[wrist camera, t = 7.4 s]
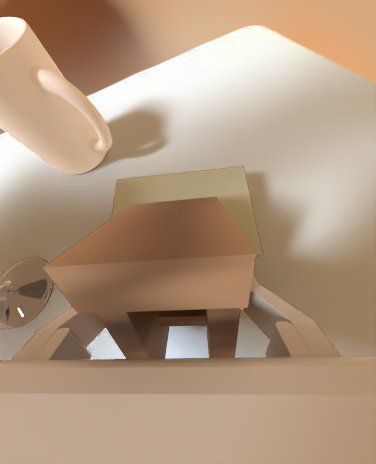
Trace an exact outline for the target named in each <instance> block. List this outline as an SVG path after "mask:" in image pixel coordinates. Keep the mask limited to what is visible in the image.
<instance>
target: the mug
mask: <svg viewBox="0 0 376 464" xmlns="http://www.w3.org/2000/svg"><path fill="white" fill-rule="evenodd" d="M0 128H1V129H3V130H4V131H5V132H7V133H8V134H9V135H11V136H12V137H13V138H15V139H16V140H17V141H19V142H20V143H22V144H23V145H24V146H26V147H27V148H28V149H30V150H31V151H32V152H34V153H35V154H36V155H38V156H39V157H40V158H42V159H43V160H44V161H46V162H47V163H49V164H50V165H51V166H53V167H54V168H56V169H57V170H59V171H61V172H63V173H66V174H82V173H86V172H88V171H90V170H92V169H94V168H95V167H96V166H98V165H99V164H100V163H101V162H102V160H103V159H104V157H105V155H106V152H107V150H109V149H110V148H111V146H112V136H111V133H110V130H109V128H108V126H107V124H106V122H105V120H104V119H103V117H102V116H101V114H100V113H99V112H98V110H97V109H96V108H95V106H94V105H93V104H92V103H91V102H90V101H89V99H88V98H87V97H86V96H84V94H83V93H82V92H80V91H79V90H78V89H77V88H76V87H75V86H74V85H72V84H71V83H70V82H68V81H67V80H66V79H65V78H64V76H63V75H62V73H61V72H60V70H59V69H58V68H57V66H56V65H55V63H54V62H53V60H52V59H51V58H50V56H49V54H48V53H47V52H46V50H45V49H44V47H43V46H42V44H41V43H40V41H39V40H38V38H37V37H36V36H35V34H34V33H33V31H32V30H31V28H30V27H29V26H28V24H27V23H26V22H25V21H24V20H23V19H21V18H16V17H3V18H0Z"/></svg>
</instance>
